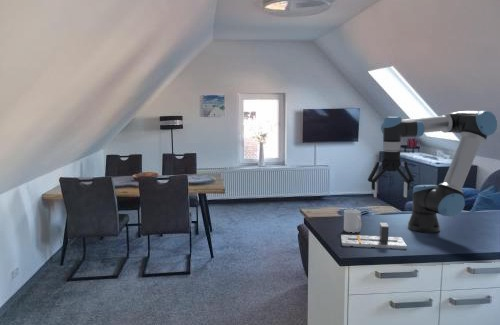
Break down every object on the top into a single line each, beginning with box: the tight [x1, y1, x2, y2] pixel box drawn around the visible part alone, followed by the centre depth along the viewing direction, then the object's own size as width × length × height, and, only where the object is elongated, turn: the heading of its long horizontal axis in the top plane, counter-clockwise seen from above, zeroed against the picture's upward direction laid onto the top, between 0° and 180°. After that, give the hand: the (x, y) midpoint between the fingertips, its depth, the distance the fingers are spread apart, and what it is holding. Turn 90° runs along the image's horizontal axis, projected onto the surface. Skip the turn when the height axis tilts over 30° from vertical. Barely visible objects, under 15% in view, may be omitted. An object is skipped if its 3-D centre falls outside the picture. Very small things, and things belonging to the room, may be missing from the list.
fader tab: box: [379, 222, 390, 242], centre depth 192 cm, size 3×6×7 cm, turn 170°
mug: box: [343, 208, 363, 234], centre depth 211 cm, size 12×8×10 cm
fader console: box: [340, 234, 408, 250], centre depth 193 cm, size 28×13×2 cm, turn 80°
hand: (390, 196), depth 192 cm, fingers open, 13 cm apart
